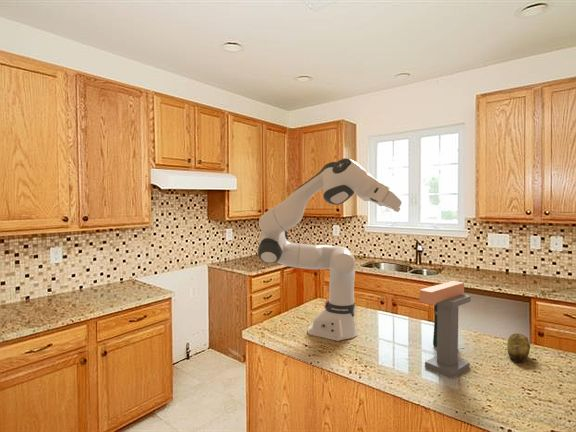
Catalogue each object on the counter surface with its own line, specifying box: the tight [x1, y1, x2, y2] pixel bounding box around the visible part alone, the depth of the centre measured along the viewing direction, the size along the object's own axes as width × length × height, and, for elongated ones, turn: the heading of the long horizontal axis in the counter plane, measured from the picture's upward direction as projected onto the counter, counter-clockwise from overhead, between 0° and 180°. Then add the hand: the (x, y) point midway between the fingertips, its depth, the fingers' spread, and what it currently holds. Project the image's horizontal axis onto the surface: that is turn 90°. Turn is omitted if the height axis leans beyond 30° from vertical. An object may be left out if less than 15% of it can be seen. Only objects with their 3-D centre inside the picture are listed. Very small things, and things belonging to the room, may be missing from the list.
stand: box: [424, 294, 472, 379], centre depth 119 cm, size 12×10×26 cm
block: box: [419, 280, 465, 305], centre depth 116 cm, size 22×4×4 cm, turn 126°
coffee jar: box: [432, 303, 437, 348], centre depth 136 cm, size 10×8×19 cm
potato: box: [506, 333, 531, 363], centre depth 127 cm, size 8×13×8 cm, turn 129°
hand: (389, 207), depth 131 cm, fingers open, 8 cm apart
